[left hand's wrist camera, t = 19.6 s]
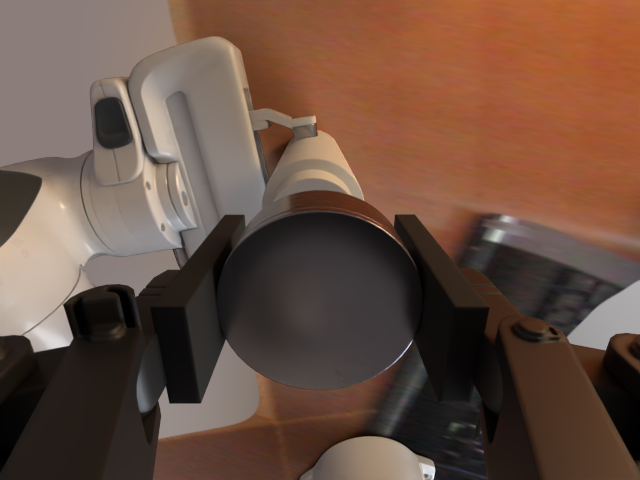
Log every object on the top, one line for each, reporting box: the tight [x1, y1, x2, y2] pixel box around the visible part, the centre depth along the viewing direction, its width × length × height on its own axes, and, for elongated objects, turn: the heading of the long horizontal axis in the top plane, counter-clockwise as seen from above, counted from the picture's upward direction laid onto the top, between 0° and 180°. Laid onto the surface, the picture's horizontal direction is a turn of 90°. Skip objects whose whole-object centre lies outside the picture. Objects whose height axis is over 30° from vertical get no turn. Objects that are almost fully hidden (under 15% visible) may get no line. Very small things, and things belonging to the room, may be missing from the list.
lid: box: [216, 190, 424, 390], centre depth 11 cm, size 6×6×2 cm
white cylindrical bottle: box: [262, 130, 364, 210], centre depth 25 cm, size 5×5×19 cm
